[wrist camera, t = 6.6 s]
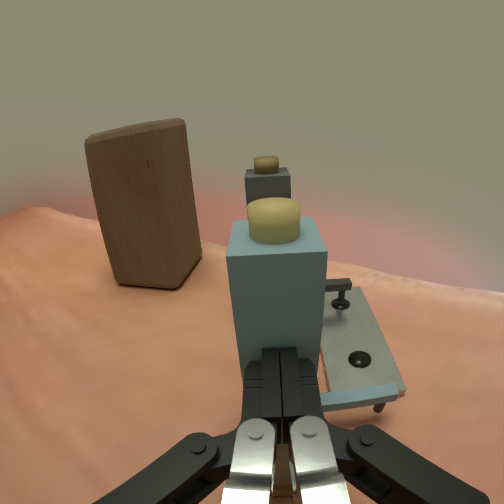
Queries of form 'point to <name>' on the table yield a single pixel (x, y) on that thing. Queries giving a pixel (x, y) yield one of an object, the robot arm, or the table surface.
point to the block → (145, 201)
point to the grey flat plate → (355, 345)
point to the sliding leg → (285, 292)
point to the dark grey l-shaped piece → (278, 185)
